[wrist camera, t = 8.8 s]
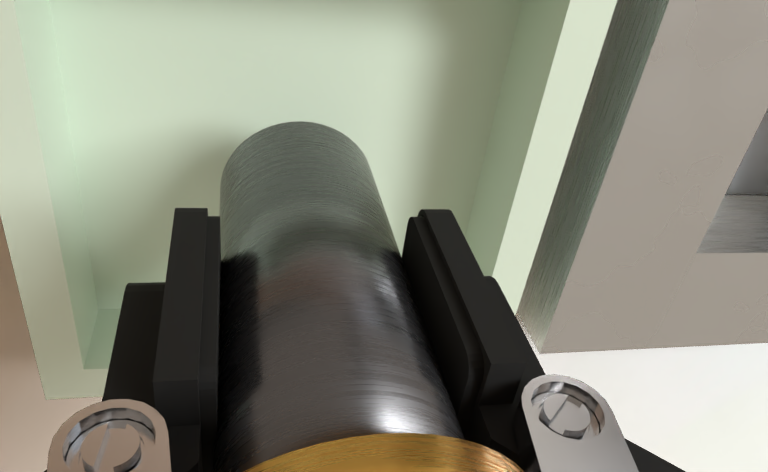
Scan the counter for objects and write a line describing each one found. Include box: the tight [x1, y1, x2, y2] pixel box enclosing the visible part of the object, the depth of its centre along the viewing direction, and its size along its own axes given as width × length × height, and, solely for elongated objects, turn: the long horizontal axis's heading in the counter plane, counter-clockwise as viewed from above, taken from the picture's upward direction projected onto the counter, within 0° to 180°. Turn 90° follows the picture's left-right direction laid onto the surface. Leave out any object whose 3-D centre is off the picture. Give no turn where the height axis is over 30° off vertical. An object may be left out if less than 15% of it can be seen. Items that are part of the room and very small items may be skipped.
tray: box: [0, 0, 617, 400], centre depth 15 cm, size 12×12×3 cm
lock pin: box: [212, 121, 524, 472], centre depth 11 cm, size 5×5×10 cm
